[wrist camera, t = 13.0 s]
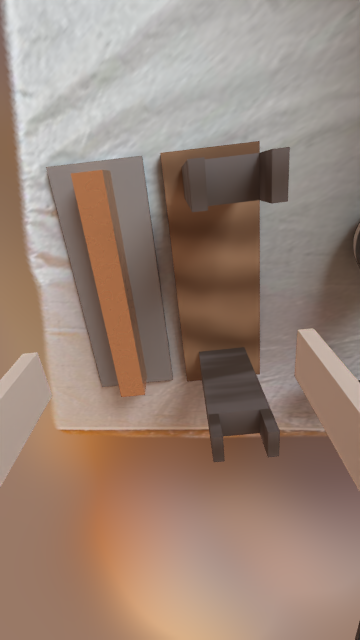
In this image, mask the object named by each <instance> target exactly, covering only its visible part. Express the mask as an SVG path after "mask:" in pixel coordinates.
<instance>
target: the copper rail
mask: <svg viewBox="0 0 360 640" xmlns="http://www.w3.org/2000/svg"><path fill="white" fill-rule="evenodd" d="M71 178H72V182H73V187H74V191H75V195H76V200H77V204H78V209H79V213H80V217H81V222H82V226H83V231H84V235H85V239H86V244H87V248H88V252H89V257H90V261H91V266H92V270H93V274H94V279H95V283H96V287H97V292H98V296H99V301H100V305H101V309H102V314H103V318H104V322H105V327H106V331H107V336H108V340H109V344H110V349H111V353H112V357H113V362H114V366H115V371H116V375H117V379H118V384H119V388H120V393H121V397H126V396H136V395H145V389H146V382H147V373H146V367H145V362H144V356H143V351H142V345H141V339H140V334H139V328H138V323H137V317H136V312H135V306H134V301H133V295H132V289H131V284H130V278H129V273H128V267H127V262H126V256H125V251H124V245H123V240H122V234H121V228H120V223H119V217H118V212H117V206H116V201H115V195H114V190H113V184H112V178H111V173H110V171H108V170H96V171H88V172H79V173H71Z"/></svg>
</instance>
